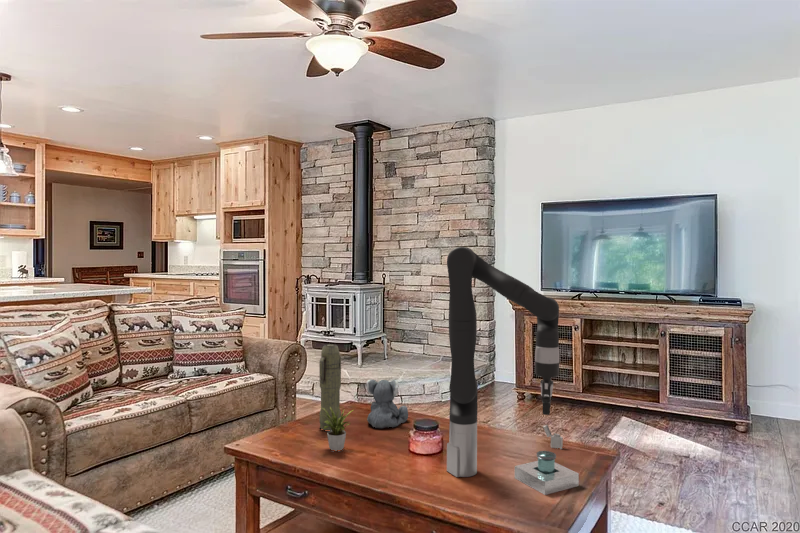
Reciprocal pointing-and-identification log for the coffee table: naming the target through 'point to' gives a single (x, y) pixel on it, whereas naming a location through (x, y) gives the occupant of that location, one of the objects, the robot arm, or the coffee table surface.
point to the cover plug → (546, 462)
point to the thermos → (330, 383)
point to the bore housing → (546, 478)
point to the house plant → (336, 430)
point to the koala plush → (385, 404)
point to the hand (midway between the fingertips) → (546, 410)
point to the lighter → (554, 438)
